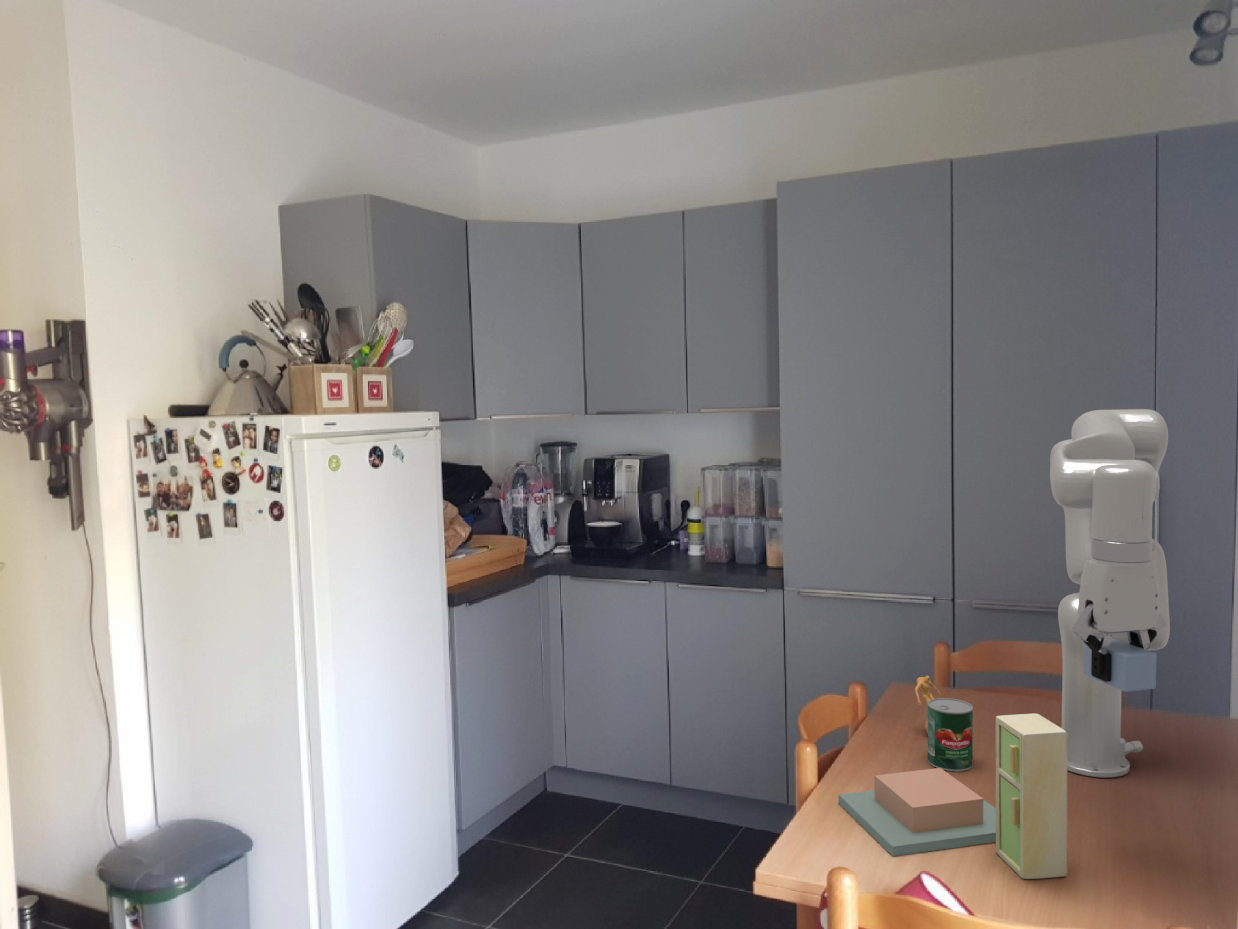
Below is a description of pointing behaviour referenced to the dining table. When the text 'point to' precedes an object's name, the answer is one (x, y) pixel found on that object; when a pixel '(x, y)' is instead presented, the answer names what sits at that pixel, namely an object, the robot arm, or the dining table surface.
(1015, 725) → the toy refrigerator
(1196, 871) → the dining table surface
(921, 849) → the block on teal plate
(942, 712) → the canned tomato
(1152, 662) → the slate brick
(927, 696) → the figurine
